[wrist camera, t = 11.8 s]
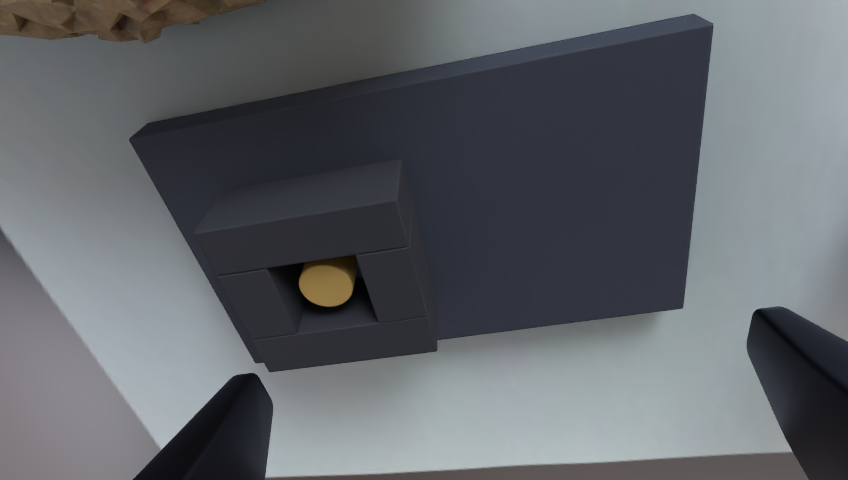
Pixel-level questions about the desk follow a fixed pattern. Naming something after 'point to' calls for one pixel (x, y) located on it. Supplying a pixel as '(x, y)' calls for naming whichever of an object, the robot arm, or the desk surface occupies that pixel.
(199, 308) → the desk surface
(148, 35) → the sponge
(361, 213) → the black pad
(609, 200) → the base pad
